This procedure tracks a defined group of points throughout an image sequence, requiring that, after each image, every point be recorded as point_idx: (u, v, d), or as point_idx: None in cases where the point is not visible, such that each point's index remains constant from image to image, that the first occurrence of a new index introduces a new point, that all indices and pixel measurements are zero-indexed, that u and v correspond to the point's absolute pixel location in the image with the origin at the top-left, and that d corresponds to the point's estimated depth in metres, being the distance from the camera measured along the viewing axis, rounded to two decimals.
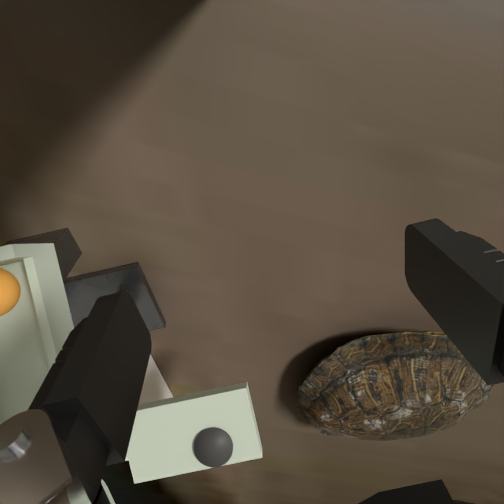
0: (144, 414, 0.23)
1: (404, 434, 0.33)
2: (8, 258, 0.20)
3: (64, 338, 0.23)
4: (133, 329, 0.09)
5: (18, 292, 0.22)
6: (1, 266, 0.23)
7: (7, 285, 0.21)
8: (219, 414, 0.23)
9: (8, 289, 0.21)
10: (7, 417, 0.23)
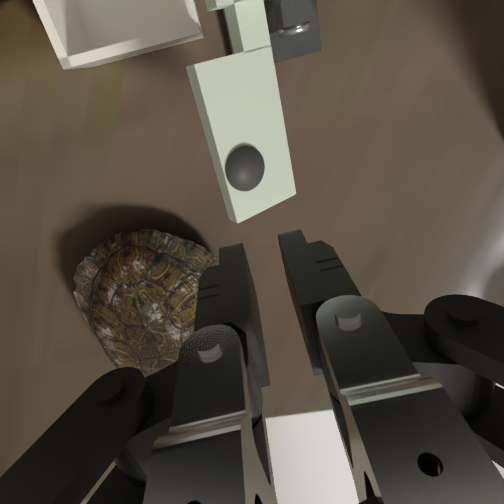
0: (272, 81, 0.20)
1: (146, 342, 0.33)
2: None
3: None
4: (250, 278, 0.10)
5: None
6: None
7: None
8: (273, 170, 0.22)
9: None
10: None
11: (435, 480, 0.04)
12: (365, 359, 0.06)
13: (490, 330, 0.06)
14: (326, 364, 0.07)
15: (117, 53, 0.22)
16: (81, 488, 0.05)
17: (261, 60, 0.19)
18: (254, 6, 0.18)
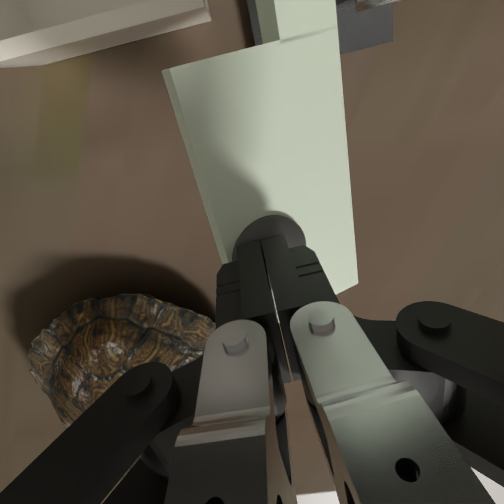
0: (333, 97, 0.10)
1: None
2: None
3: None
4: (267, 275, 0.10)
5: None
6: None
7: None
8: (322, 251, 0.12)
9: None
10: None
11: (413, 485, 0.04)
12: (340, 365, 0.06)
13: (460, 336, 0.06)
14: (301, 370, 0.07)
15: (60, 42, 0.13)
16: (106, 482, 0.05)
17: (315, 56, 0.09)
18: None
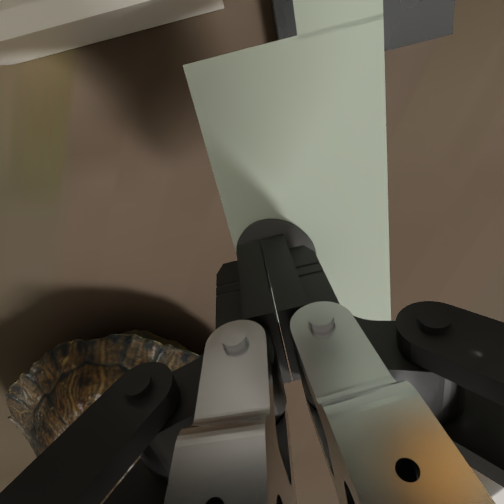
0: (369, 106, 0.08)
1: None
2: None
3: None
4: (267, 275, 0.10)
5: None
6: None
7: None
8: (342, 275, 0.11)
9: None
10: None
11: (413, 485, 0.04)
12: (340, 365, 0.06)
13: (460, 336, 0.06)
14: (301, 370, 0.07)
15: (18, 32, 0.09)
16: (106, 482, 0.05)
17: (345, 54, 0.08)
18: None
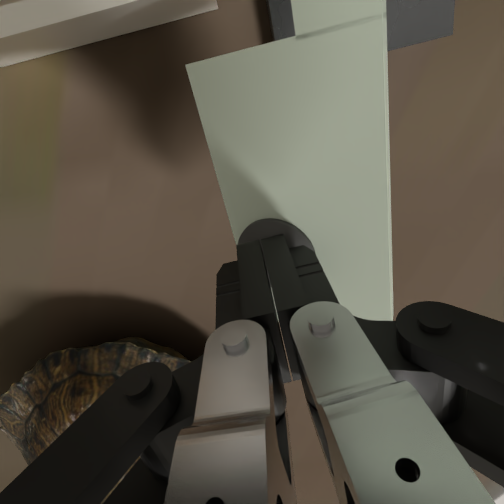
0: (369, 108, 0.08)
1: None
2: None
3: None
4: (267, 275, 0.10)
5: None
6: None
7: None
8: (341, 278, 0.11)
9: None
10: None
11: (413, 485, 0.04)
12: (340, 365, 0.06)
13: (460, 336, 0.06)
14: (301, 370, 0.07)
15: (0, 34, 0.09)
16: (106, 482, 0.05)
17: (343, 55, 0.08)
18: None
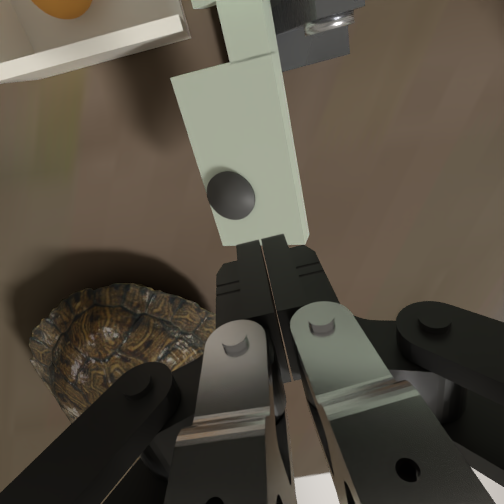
0: (271, 100, 0.14)
1: None
2: None
3: None
4: (267, 275, 0.10)
5: (82, 14, 0.18)
6: None
7: (63, 18, 0.17)
8: (271, 208, 0.17)
9: None
10: None
11: (413, 485, 0.04)
12: (340, 365, 0.06)
13: (460, 336, 0.06)
14: (301, 370, 0.07)
15: (61, 61, 0.15)
16: (106, 482, 0.05)
17: (255, 72, 0.14)
18: None
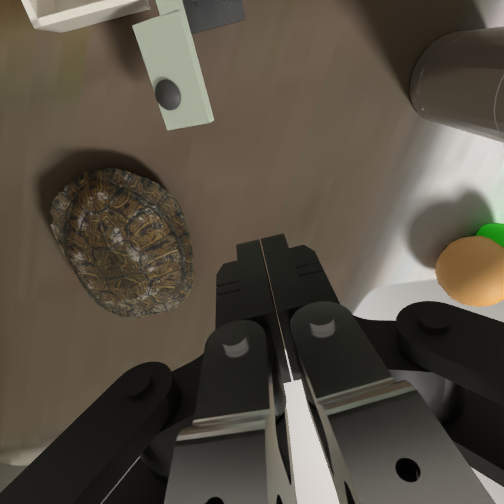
0: (181, 35, 0.28)
1: (110, 262, 0.39)
2: None
3: None
4: (267, 275, 0.10)
5: None
6: None
7: None
8: (189, 100, 0.31)
9: None
10: None
11: (413, 485, 0.04)
12: (340, 365, 0.06)
13: (460, 336, 0.06)
14: (301, 370, 0.07)
15: (75, 16, 0.29)
16: (106, 482, 0.05)
17: (172, 20, 0.28)
18: None
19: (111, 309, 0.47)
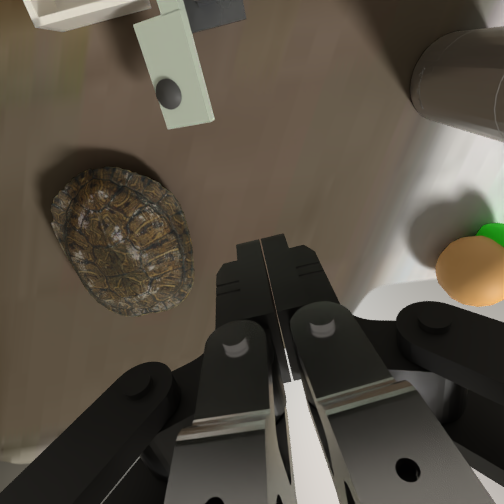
0: (182, 35, 0.28)
1: (111, 261, 0.39)
2: None
3: None
4: (267, 275, 0.10)
5: None
6: None
7: None
8: (190, 100, 0.31)
9: None
10: None
11: (413, 485, 0.04)
12: (340, 365, 0.06)
13: (460, 336, 0.06)
14: (301, 370, 0.07)
15: (76, 15, 0.29)
16: (106, 482, 0.05)
17: (173, 20, 0.28)
18: None
19: (111, 307, 0.47)
